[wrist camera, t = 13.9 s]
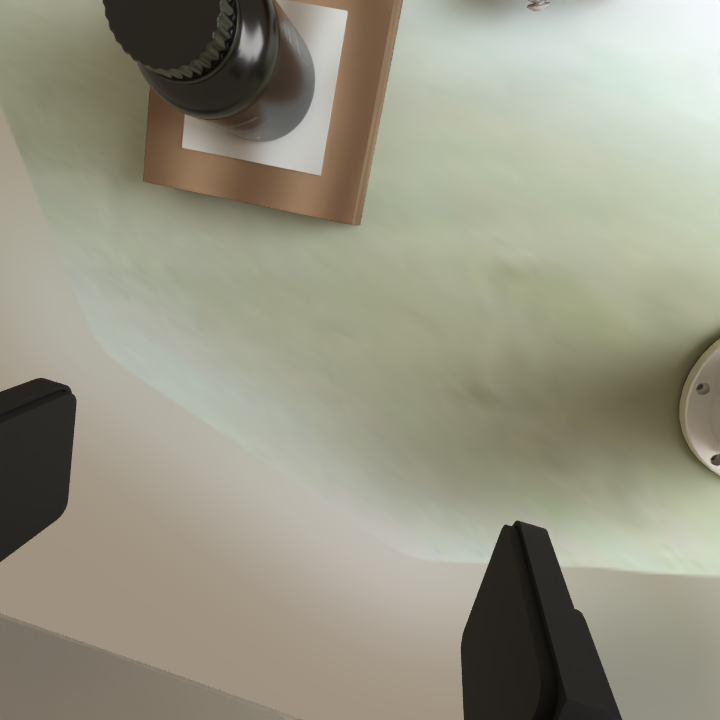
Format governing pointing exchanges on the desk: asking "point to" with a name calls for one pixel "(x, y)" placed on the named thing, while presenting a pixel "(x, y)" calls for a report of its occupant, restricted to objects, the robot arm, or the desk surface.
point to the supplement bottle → (220, 61)
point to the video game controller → (538, 5)
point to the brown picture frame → (310, 138)
